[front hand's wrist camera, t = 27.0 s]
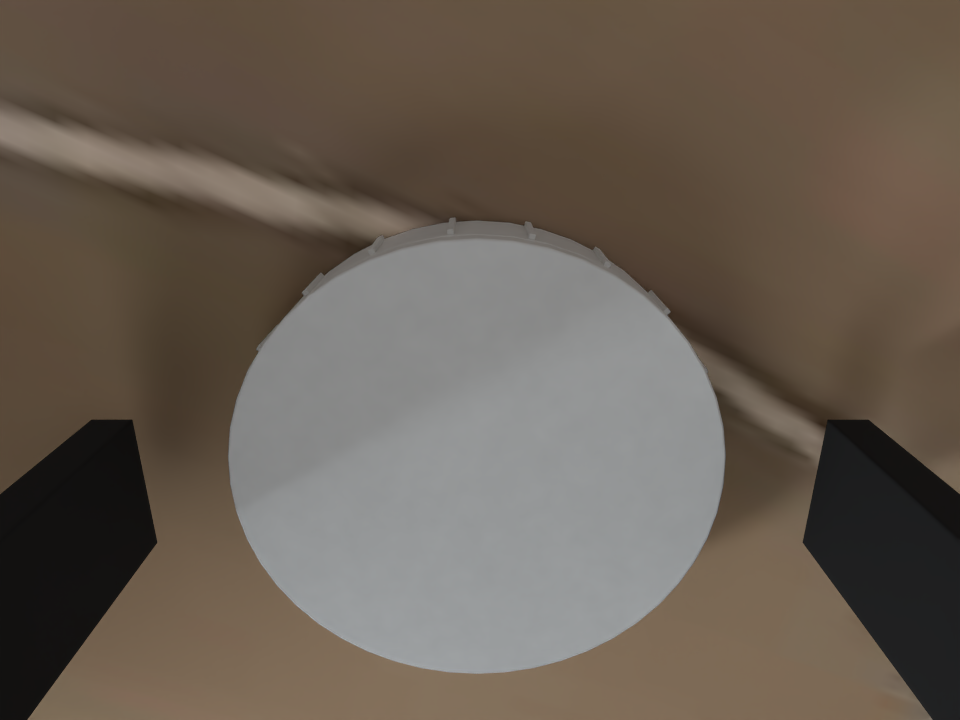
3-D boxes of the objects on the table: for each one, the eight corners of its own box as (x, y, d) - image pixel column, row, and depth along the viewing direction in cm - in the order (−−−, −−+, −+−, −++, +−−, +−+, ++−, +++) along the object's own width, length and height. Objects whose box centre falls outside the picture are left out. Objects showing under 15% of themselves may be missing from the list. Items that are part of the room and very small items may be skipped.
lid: (754, 250, 12) (795, 273, 11) (647, 635, 16) (666, 697, 14) (257, 184, 12) (223, 198, 10) (253, 594, 15) (226, 653, 14)
